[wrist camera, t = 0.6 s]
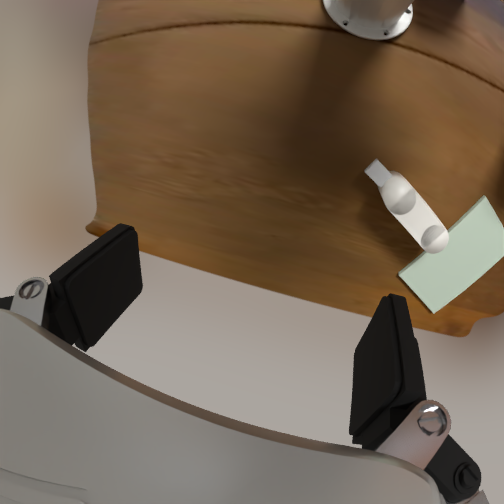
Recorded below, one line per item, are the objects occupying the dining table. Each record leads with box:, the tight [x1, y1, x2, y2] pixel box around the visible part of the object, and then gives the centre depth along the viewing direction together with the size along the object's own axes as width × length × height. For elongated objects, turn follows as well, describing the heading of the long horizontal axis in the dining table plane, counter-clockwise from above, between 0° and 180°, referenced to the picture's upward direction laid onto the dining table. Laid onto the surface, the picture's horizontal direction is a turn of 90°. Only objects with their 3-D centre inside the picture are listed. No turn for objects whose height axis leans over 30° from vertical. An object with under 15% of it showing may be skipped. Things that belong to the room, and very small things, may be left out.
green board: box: [398, 195, 504, 313], centre depth 38 cm, size 20×12×1 cm, turn 144°
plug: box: [364, 159, 449, 254], centre depth 35 cm, size 4×15×6 cm, turn 54°
